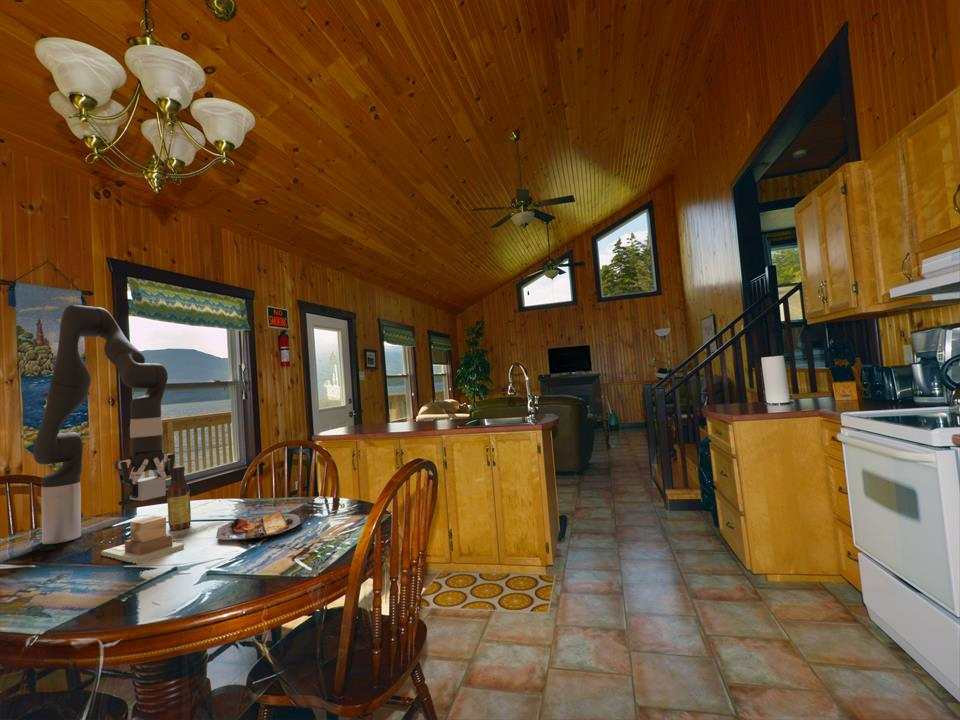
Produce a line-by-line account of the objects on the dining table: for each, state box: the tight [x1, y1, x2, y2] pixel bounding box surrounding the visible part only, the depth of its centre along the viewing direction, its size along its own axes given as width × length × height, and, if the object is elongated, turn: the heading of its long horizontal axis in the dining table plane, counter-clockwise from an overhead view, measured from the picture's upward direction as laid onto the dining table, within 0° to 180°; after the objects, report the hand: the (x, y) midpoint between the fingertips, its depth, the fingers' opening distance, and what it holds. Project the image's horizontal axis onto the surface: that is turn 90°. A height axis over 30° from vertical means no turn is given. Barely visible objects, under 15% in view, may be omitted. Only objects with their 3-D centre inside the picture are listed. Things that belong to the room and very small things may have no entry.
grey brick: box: [129, 476, 167, 502], centre depth 132 cm, size 6×6×5 cm
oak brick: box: [129, 515, 167, 542], centre depth 131 cm, size 6×6×5 cm
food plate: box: [215, 509, 302, 541], centre depth 147 cm, size 25×23×4 cm
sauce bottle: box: [166, 465, 192, 531], centre depth 155 cm, size 7×6×20 cm
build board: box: [100, 541, 185, 565], centre depth 132 cm, size 18×12×1 cm, turn 62°
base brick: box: [124, 533, 173, 555], centre depth 131 cm, size 8×8×3 cm
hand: (147, 494), depth 132 cm, fingers closed on grey brick, 6 cm apart
